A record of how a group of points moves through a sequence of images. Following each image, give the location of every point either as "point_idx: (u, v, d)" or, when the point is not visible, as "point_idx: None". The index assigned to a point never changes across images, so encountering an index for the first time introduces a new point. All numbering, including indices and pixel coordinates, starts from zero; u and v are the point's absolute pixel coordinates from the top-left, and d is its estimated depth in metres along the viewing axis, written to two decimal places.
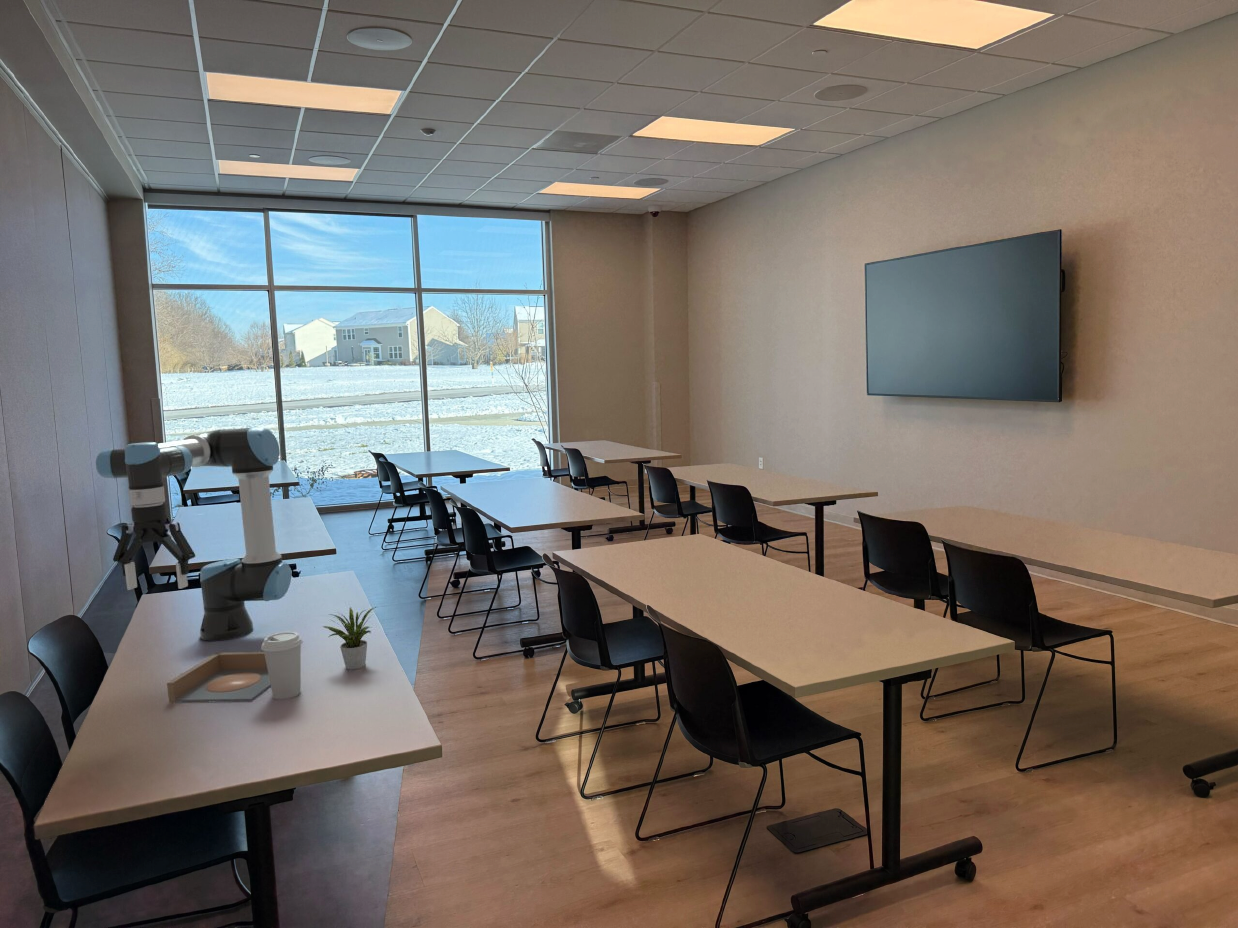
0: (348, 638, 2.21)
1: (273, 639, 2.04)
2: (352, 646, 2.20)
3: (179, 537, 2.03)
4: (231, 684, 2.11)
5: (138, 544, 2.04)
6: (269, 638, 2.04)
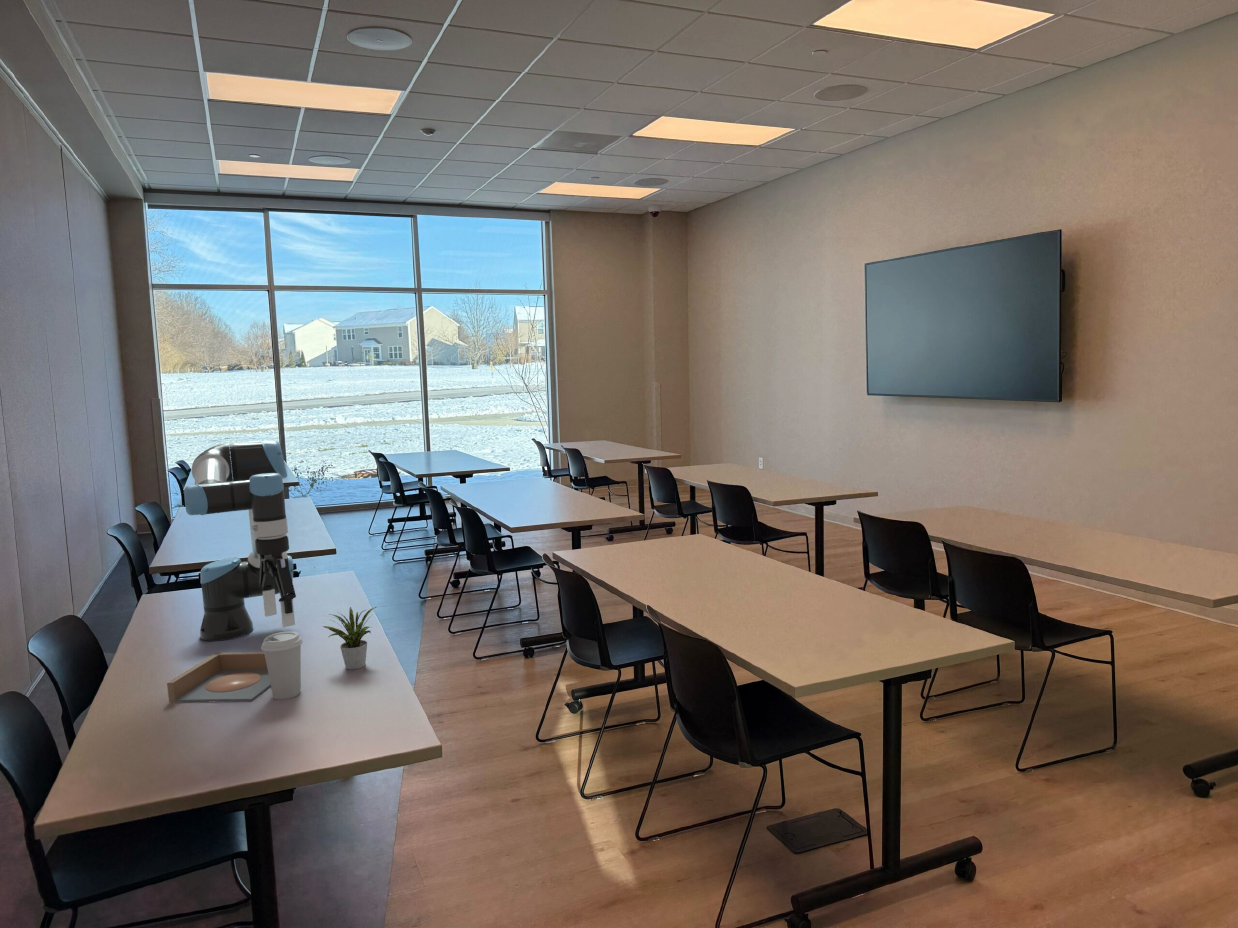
0: (348, 638, 2.21)
1: (273, 639, 2.04)
2: (352, 646, 2.20)
3: (283, 574, 1.95)
4: (231, 684, 2.11)
5: (268, 574, 2.04)
6: (269, 638, 2.04)
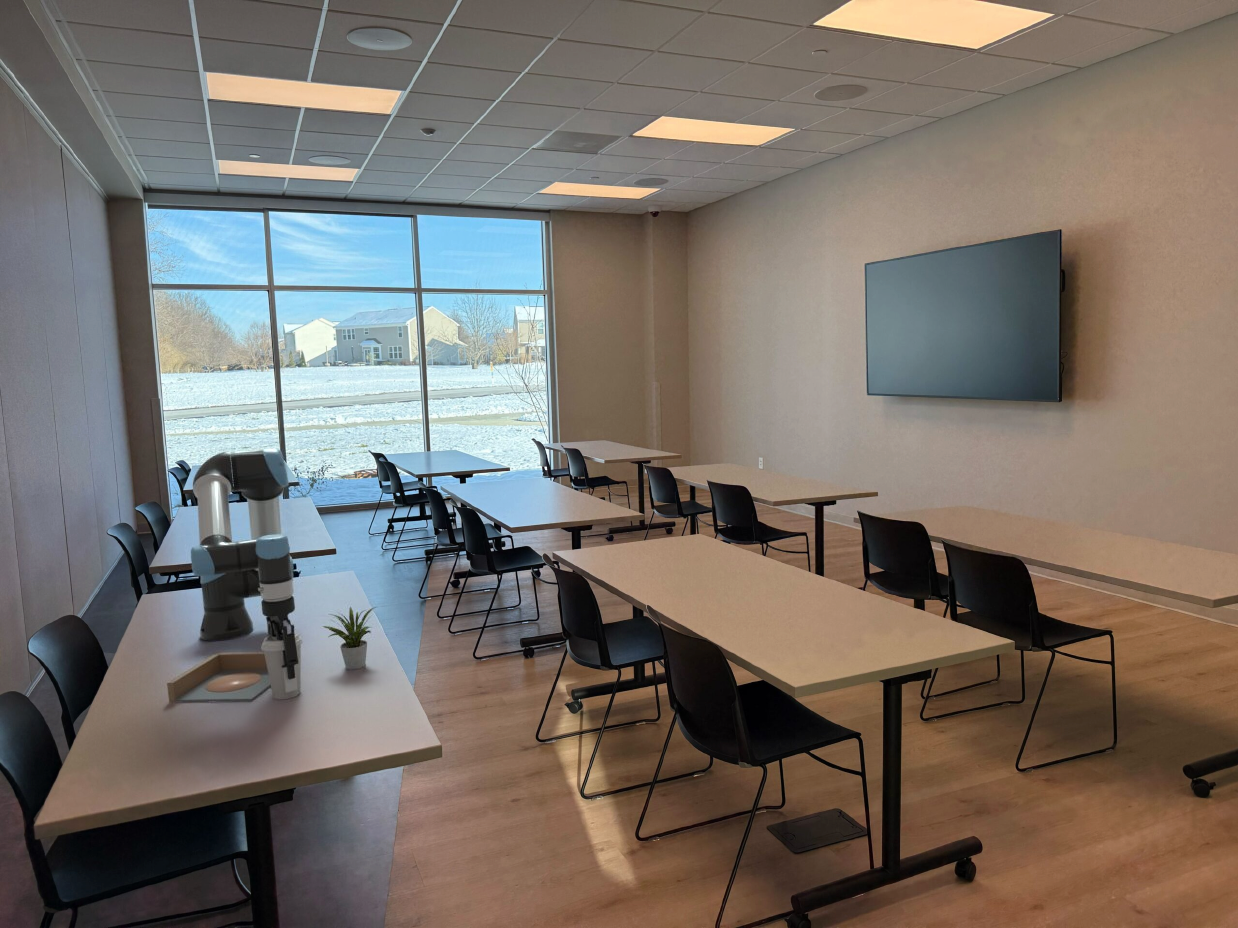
0: (348, 638, 2.21)
1: (273, 639, 2.04)
2: (352, 646, 2.20)
3: (288, 641, 1.98)
4: (231, 684, 2.11)
5: (276, 636, 2.04)
6: (269, 638, 2.04)
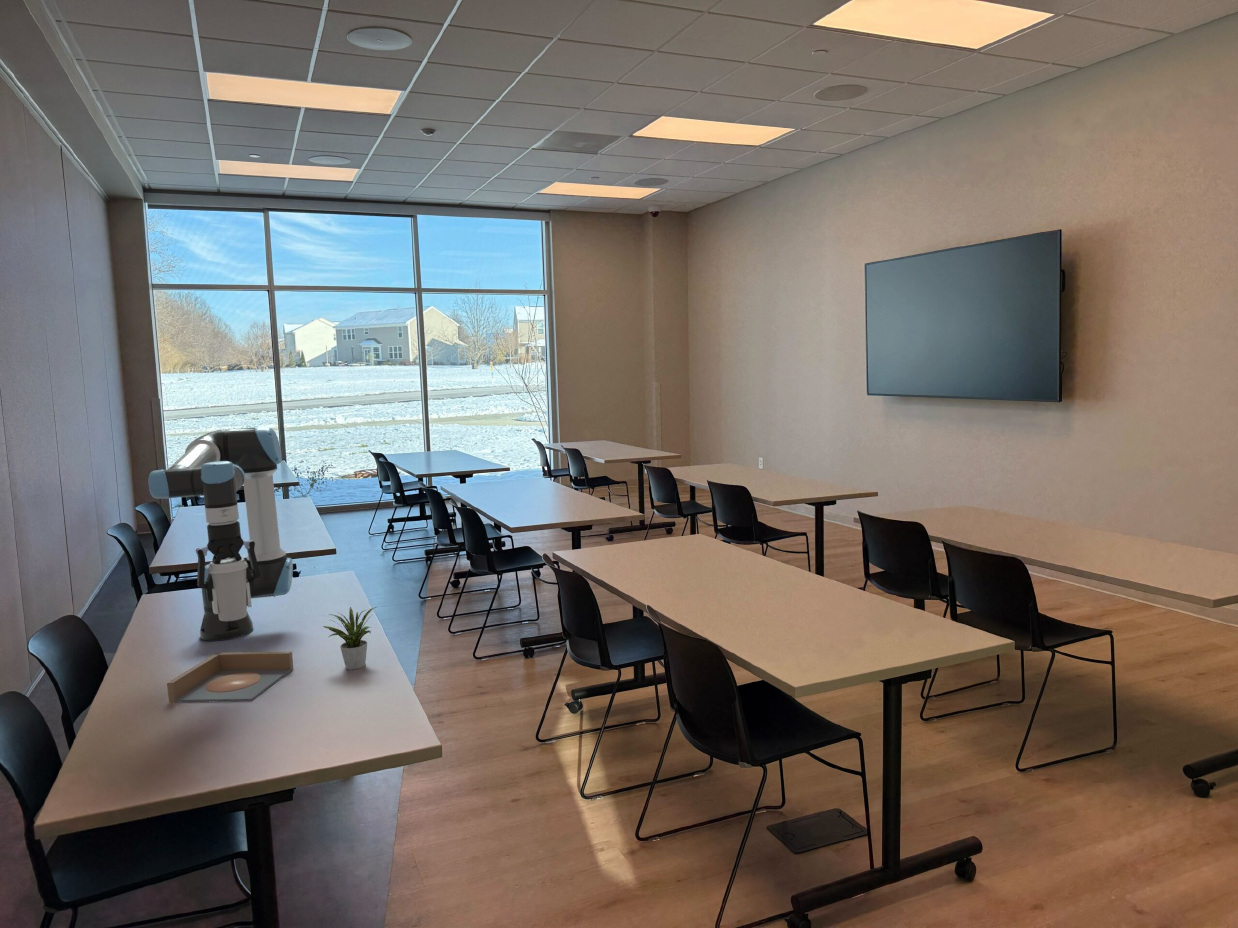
0: (348, 638, 2.21)
1: None
2: (352, 646, 2.20)
3: None
4: (231, 684, 2.11)
5: None
6: None
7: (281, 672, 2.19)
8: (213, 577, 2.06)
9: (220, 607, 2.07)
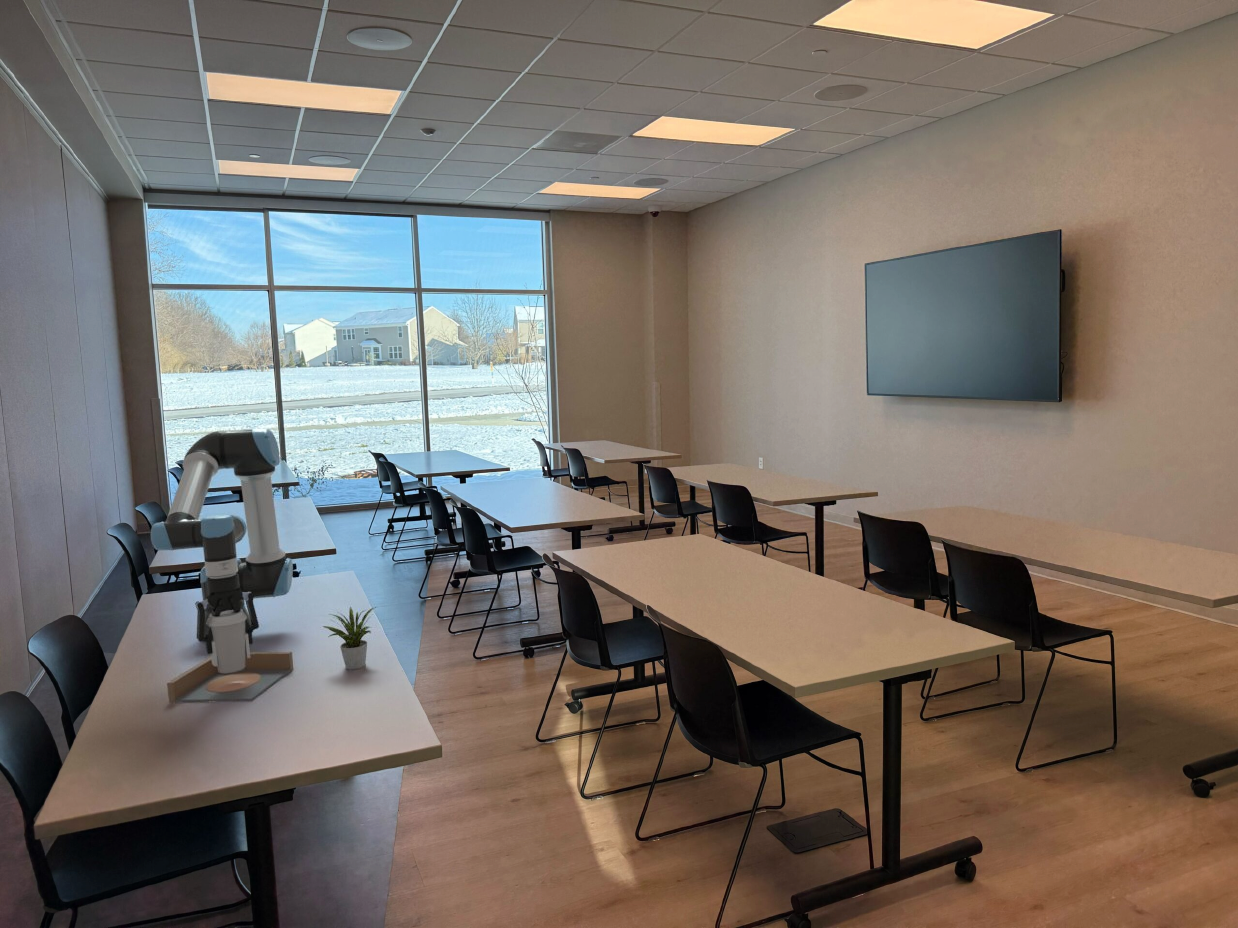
0: (348, 638, 2.21)
1: None
2: (352, 646, 2.20)
3: None
4: (231, 684, 2.11)
5: None
6: None
7: (281, 672, 2.19)
8: (213, 630, 2.08)
9: (220, 659, 2.09)
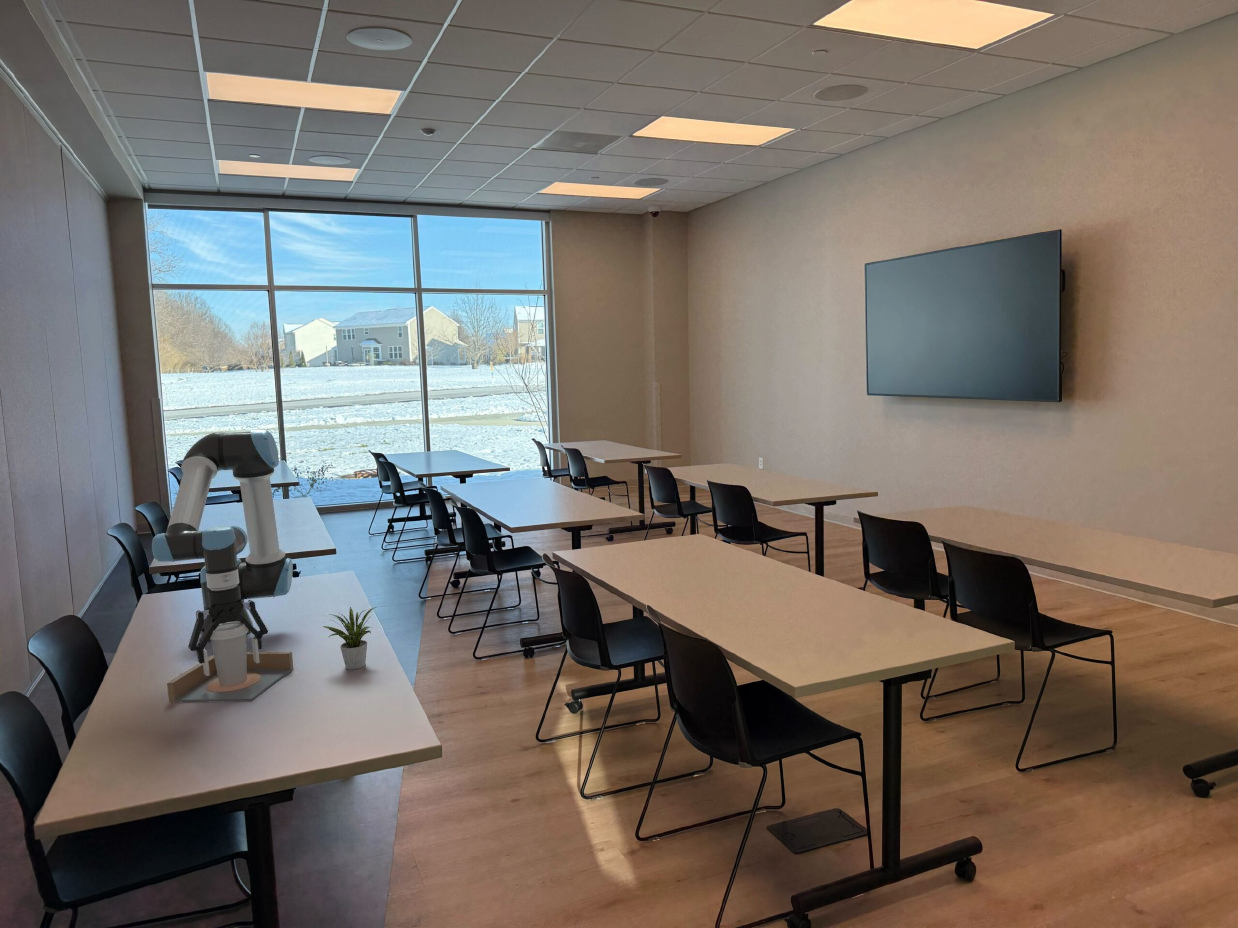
0: (348, 638, 2.21)
1: None
2: (352, 646, 2.20)
3: (257, 613, 2.16)
4: None
5: None
6: None
7: (281, 672, 2.19)
8: (214, 643, 2.08)
9: (221, 672, 2.09)
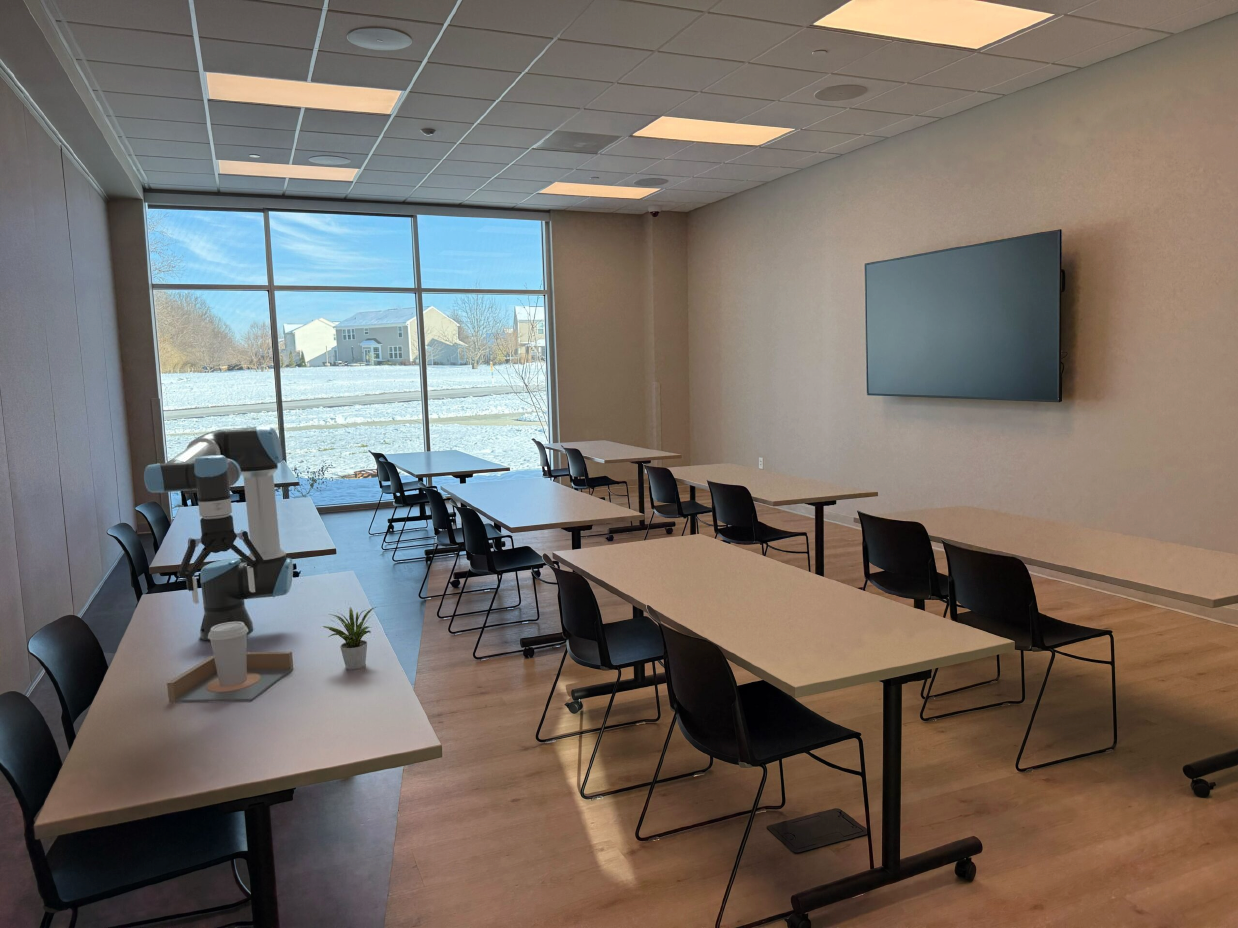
0: (348, 638, 2.21)
1: None
2: (352, 646, 2.20)
3: None
4: None
5: None
6: None
7: (281, 672, 2.19)
8: (214, 643, 2.08)
9: (221, 672, 2.09)
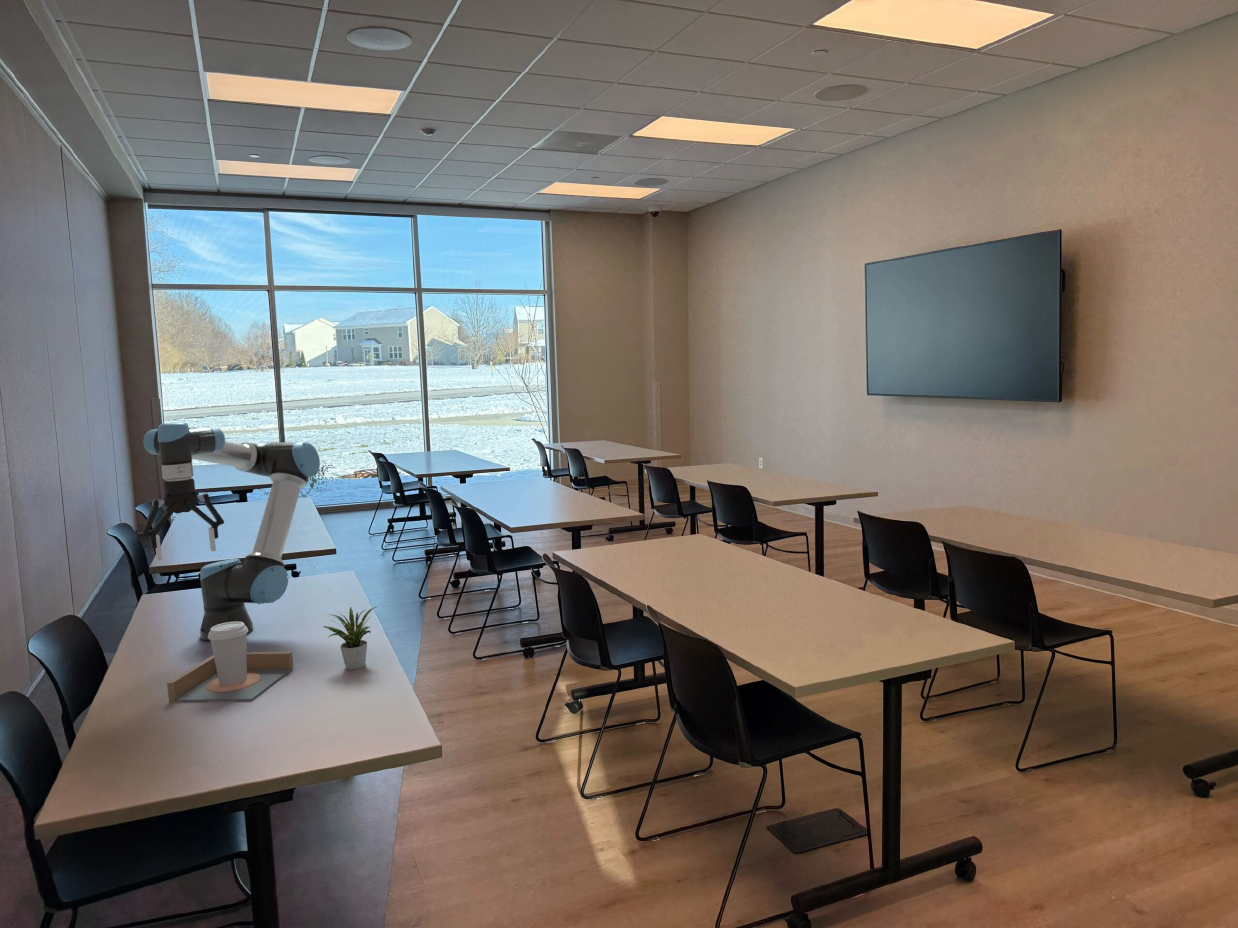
0: (348, 638, 2.21)
1: None
2: (352, 646, 2.20)
3: (212, 505, 2.29)
4: None
5: None
6: None
7: (281, 672, 2.19)
8: (214, 643, 2.08)
9: (221, 672, 2.09)
